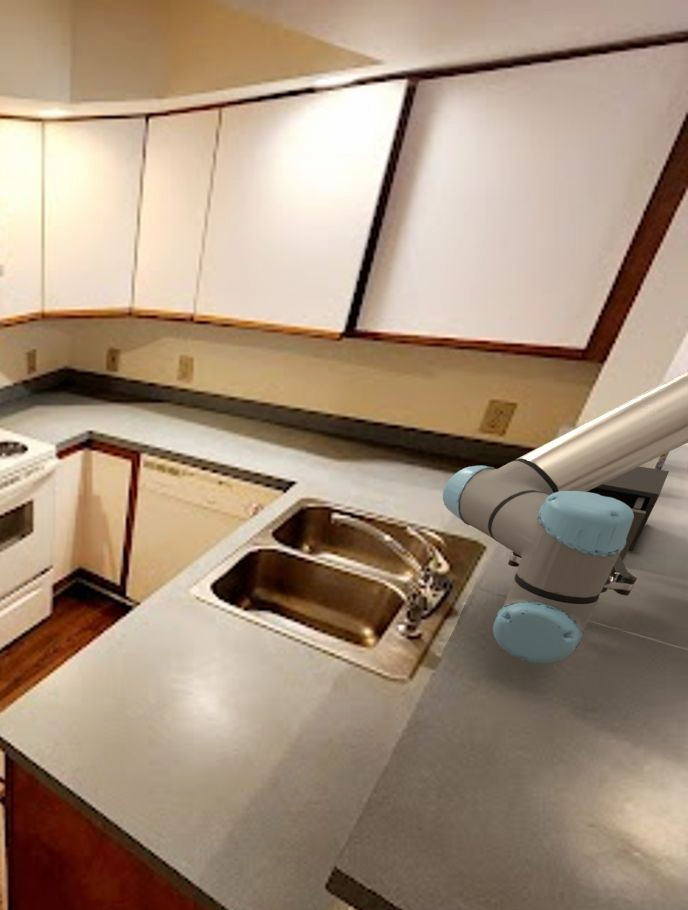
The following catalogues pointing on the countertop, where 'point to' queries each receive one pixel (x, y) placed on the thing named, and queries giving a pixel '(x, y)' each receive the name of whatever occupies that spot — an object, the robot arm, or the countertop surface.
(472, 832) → the countertop surface
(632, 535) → the drawer
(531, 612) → the robot arm
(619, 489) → the cabinet
